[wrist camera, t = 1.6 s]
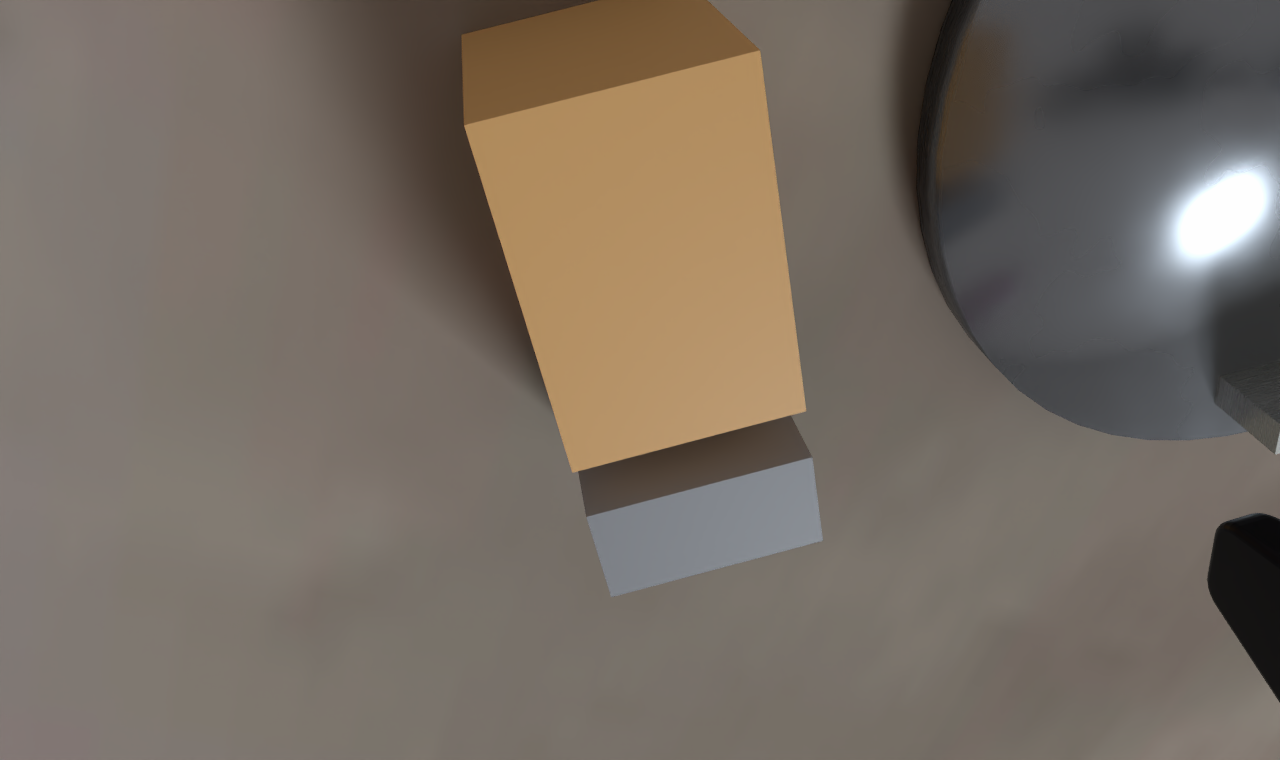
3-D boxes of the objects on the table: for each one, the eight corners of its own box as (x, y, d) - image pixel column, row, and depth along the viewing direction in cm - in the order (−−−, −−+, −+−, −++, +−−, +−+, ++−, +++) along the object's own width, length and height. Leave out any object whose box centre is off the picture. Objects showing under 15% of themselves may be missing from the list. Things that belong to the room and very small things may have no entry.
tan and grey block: (684, -22, 17) (760, 50, 13) (752, 392, 22) (822, 540, 18) (461, 34, 17) (464, 125, 13) (581, 437, 22) (611, 597, 18)
